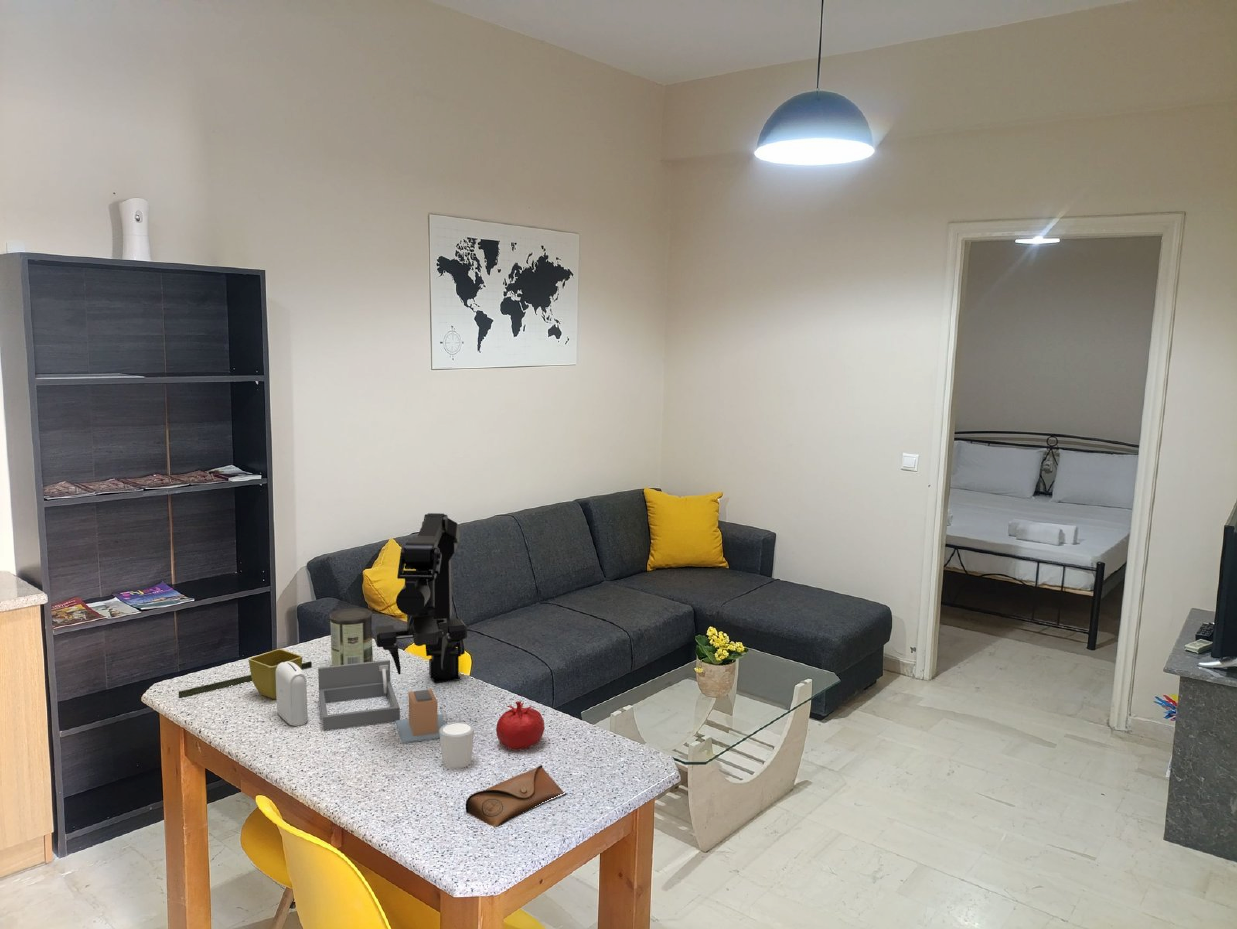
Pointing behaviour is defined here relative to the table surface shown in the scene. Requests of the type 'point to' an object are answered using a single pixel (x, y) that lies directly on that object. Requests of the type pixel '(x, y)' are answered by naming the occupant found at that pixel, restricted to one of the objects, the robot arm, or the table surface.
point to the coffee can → (351, 636)
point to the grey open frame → (356, 693)
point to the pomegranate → (520, 727)
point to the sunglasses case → (512, 797)
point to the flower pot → (270, 669)
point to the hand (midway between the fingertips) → (421, 671)
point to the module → (423, 712)
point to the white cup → (456, 744)
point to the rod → (225, 684)
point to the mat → (409, 737)
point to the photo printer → (291, 693)
